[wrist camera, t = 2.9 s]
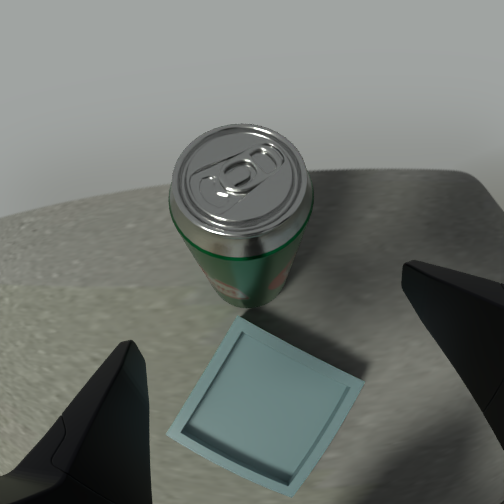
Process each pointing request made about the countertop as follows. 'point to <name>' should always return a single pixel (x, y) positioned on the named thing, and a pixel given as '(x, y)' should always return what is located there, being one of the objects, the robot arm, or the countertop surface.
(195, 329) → the countertop surface
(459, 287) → the robot arm
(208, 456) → the tray
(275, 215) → the soda can
